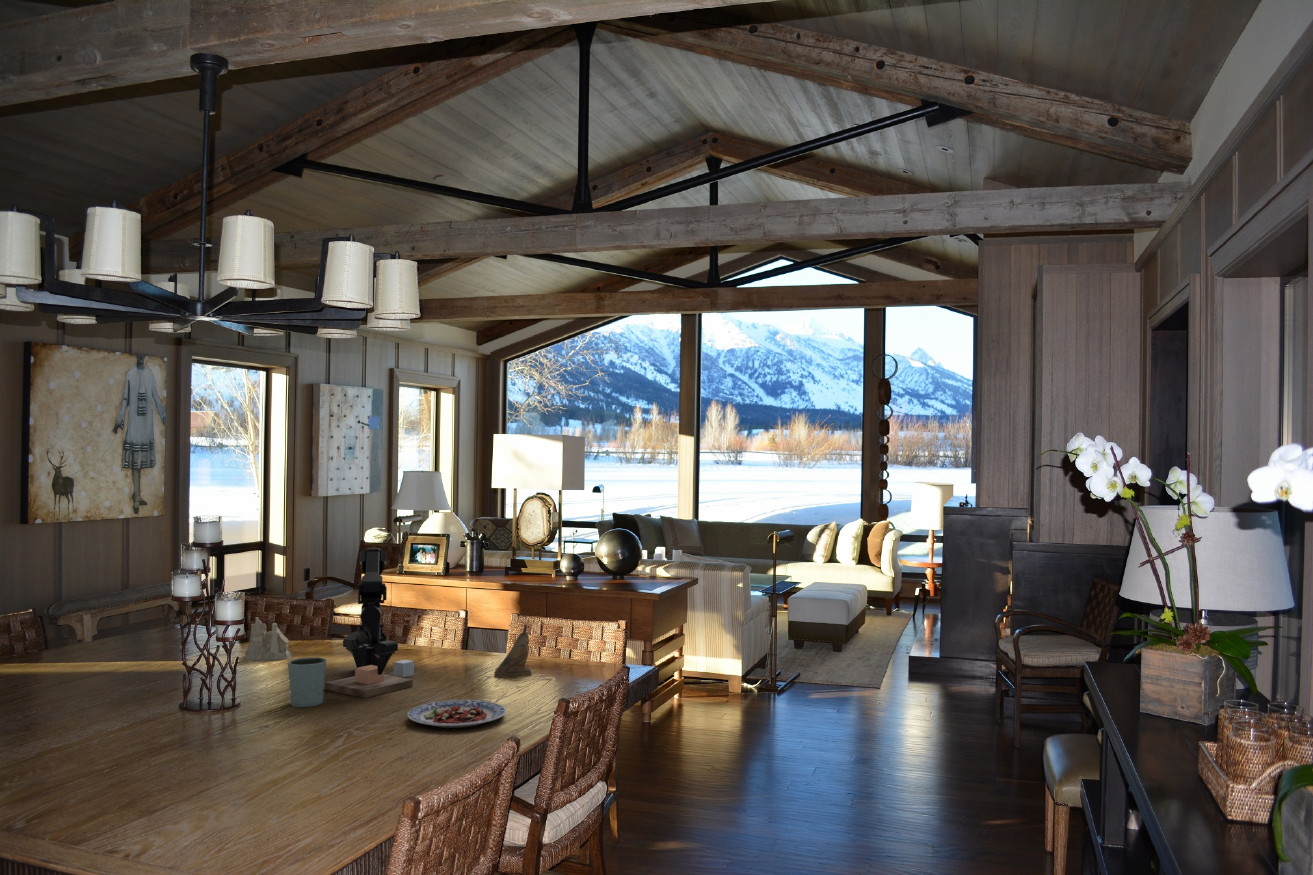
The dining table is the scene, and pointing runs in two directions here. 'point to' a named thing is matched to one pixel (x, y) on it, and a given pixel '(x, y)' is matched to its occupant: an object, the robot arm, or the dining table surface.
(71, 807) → the dining table surface
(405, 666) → the grey blue cube
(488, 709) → the ceramic plate
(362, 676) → the terracotta block
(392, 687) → the walnut base
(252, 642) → the beige sandcastle sculpture
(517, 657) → the worn brown figurine
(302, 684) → the blue green cup
